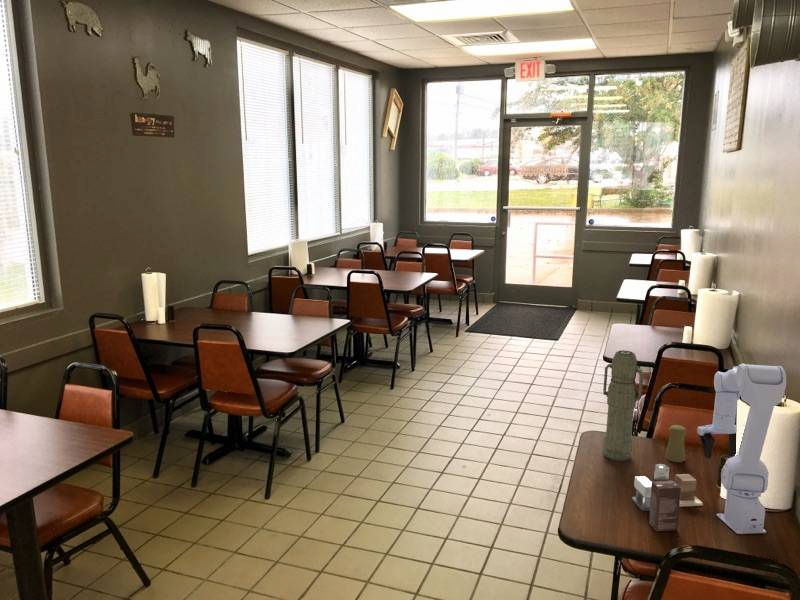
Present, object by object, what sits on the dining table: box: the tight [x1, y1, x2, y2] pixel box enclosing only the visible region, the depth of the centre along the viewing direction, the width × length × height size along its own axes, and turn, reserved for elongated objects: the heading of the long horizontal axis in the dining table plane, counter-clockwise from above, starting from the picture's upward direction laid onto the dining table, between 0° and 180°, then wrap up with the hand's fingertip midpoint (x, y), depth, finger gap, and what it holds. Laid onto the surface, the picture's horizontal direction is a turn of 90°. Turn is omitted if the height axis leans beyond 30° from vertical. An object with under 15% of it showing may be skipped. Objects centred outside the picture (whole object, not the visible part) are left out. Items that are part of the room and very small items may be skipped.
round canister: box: [653, 463, 670, 481], centre depth 193 cm, size 4×4×4 cm
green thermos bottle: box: [602, 349, 645, 462], centre depth 207 cm, size 9×12×35 cm
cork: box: [664, 424, 687, 463], centre depth 208 cm, size 6×6×11 cm
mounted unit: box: [631, 475, 652, 512], centre depth 177 cm, size 6×4×7 cm, turn 5°
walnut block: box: [674, 473, 698, 501], centre depth 180 cm, size 4×4×6 cm
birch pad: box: [679, 496, 704, 508], centre depth 181 cm, size 7×7×1 cm
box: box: [648, 480, 681, 532], centre depth 165 cm, size 6×4×12 cm
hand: (719, 457), depth 188 cm, fingers open, 7 cm apart
